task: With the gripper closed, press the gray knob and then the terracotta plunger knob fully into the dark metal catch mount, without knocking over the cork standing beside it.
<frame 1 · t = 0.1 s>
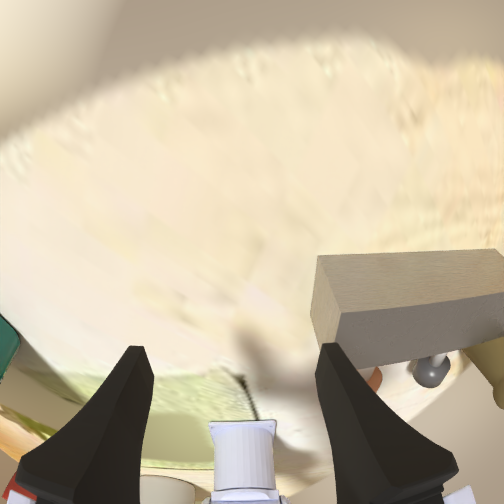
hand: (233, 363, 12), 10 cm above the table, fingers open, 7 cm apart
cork: (475, 326, 28), on the table
catch mount: (415, 282, 23), on the table
gray knob: (440, 351, 24), point 3 cm above the table, slide at 5.0 cm
terracotta knob: (367, 365, 24), point 3 cm above the table, slide at 5.0 cm
cylinder vase: (165, 482, 49), on the table
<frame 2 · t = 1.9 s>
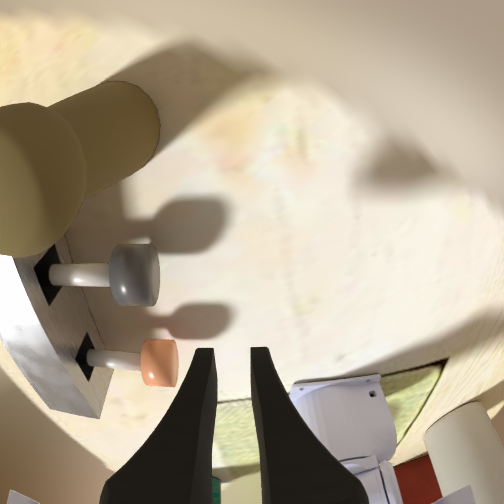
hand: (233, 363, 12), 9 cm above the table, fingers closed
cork: (113, 129, 16), on the table
catch mount: (59, 294, 21), on the table
gray knob: (99, 274, 17), point 3 cm above the table, slide at 5.0 cm
green bottle: (195, 477, 44), on the table
plant pot: (405, 467, 53), on the table
terracotta knob: (129, 361, 21), point 3 cm above the table, slide at 5.0 cm
cylinder vase: (452, 419, 40), on the table
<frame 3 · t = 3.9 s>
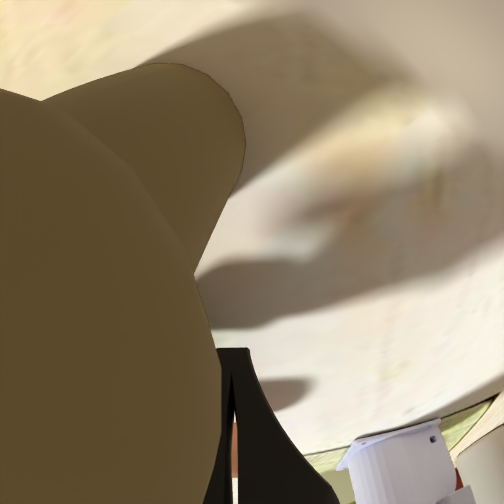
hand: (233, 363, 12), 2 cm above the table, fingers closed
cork: (159, 146, 10), on the table
terracotta knob: (180, 448, 15), point 3 cm above the table, slide at 5.0 cm
cylinder vase: (483, 440, 34), on the table
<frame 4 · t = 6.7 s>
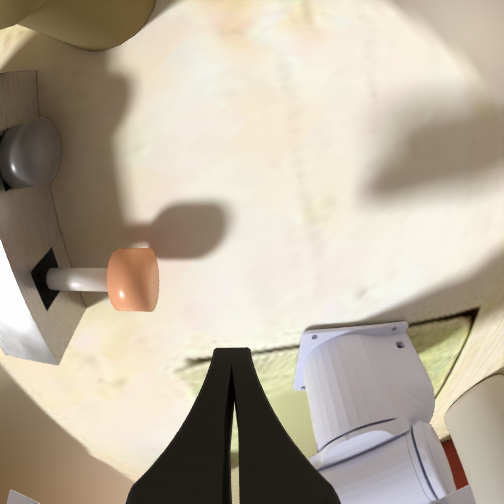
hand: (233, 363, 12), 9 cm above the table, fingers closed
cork: (107, 5, 11), on the table
catch mount: (27, 205, 17), on the table
gray knob: (1, 161, 13), point 3 cm above the table, slide at 0.0 cm
plant pot: (420, 457, 48), on the table
terracotta knob: (97, 279, 17), point 3 cm above the table, slide at 5.0 cm
cylinder vase: (474, 396, 35), on the table
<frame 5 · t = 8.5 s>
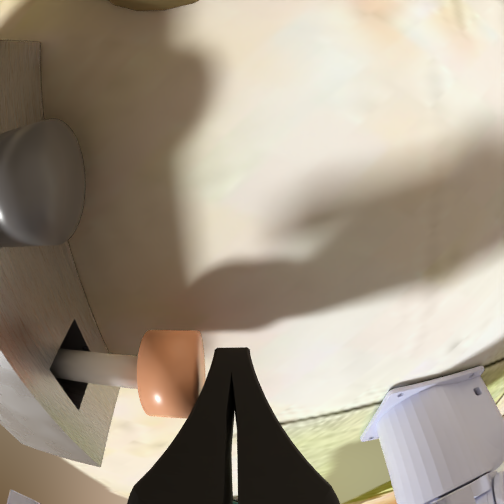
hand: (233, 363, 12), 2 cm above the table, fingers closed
catch mount: (30, 252, 12), on the table
terracotta knob: (117, 370, 11), point 3 cm above the table, slide at 3.3 cm, touching gripper
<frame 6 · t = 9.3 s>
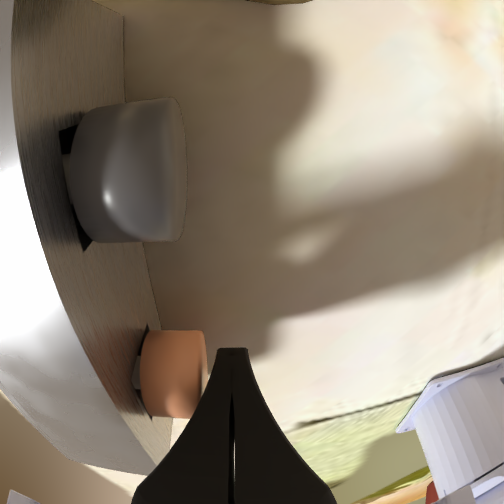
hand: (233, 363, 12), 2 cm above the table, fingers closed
catch mount: (90, 250, 12), on the table
gray knob: (58, 180, 7), point 3 cm above the table, slide at 0.0 cm
terracotta knob: (120, 370, 11), point 3 cm above the table, slide at -0.1 cm, touching gripper
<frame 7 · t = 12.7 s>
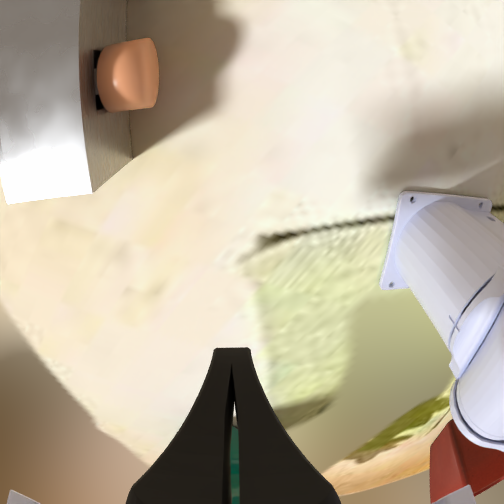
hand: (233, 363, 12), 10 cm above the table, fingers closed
catch mount: (88, 27, 12), on the table
green bottle: (219, 437, 35), on the table
plant pot: (462, 422, 44), on the table
terracotta knob: (85, 84, 12), point 3 cm above the table, slide at 0.0 cm
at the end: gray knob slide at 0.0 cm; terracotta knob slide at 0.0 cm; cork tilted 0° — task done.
